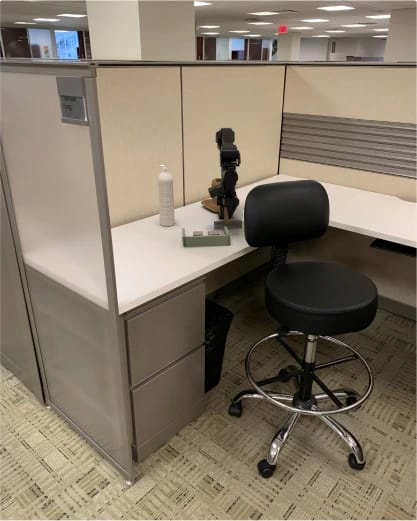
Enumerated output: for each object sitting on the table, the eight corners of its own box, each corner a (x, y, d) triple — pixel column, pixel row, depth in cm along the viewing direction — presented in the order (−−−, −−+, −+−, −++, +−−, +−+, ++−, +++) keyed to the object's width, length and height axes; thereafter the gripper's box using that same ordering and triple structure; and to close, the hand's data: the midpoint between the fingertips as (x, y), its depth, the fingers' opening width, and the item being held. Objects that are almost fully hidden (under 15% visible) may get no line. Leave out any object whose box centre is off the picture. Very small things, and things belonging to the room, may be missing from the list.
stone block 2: (207, 240, 164) (207, 231, 162) (217, 239, 165) (217, 230, 163) (209, 244, 160) (209, 234, 159) (219, 243, 161) (219, 233, 159)
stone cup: (235, 211, 197) (236, 180, 191) (213, 215, 192) (214, 183, 186) (221, 203, 210) (221, 174, 203) (200, 206, 205) (199, 176, 198)
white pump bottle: (176, 225, 180) (174, 168, 169) (161, 227, 178) (158, 169, 167) (171, 219, 187) (169, 164, 176) (157, 220, 185) (154, 165, 175)
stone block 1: (193, 240, 164) (193, 231, 162) (203, 240, 164) (203, 231, 162) (193, 244, 160) (193, 235, 158) (203, 244, 160) (203, 234, 159)
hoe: (213, 227, 178) (213, 207, 174) (241, 226, 179) (241, 206, 175) (214, 230, 175) (214, 209, 171) (242, 228, 176) (243, 208, 172)
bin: (182, 237, 167) (182, 228, 165) (226, 235, 168) (226, 226, 167) (183, 247, 158) (183, 237, 156) (230, 245, 159) (230, 235, 158)
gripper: (206, 174, 175) (206, 209, 182) (211, 185, 158) (211, 223, 165) (232, 173, 176) (231, 208, 183) (240, 184, 160) (239, 222, 166)
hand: (228, 215), depth 174 cm, fingers open, 9 cm apart
